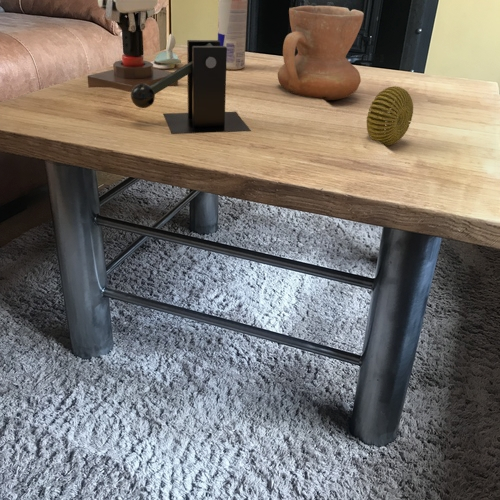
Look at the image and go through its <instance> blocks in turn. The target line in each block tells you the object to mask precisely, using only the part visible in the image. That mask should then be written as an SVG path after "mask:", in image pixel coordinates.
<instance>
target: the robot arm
mask: <svg viewBox="0 0 500 500" xmlns="http://www.w3.org/2000/svg"><path fill="white" fill-rule="evenodd" d="M158 1H159V0H97V5H98V7H99V9H101V10H103V11H105V16H104V17H105V19H106V20H107V21H111V22H115V24H116V25H117V27H118V30H120V31H121V41H122V42H121V43H122V53H123V54H125V55H129V56H134V57H138V56H142V55H143V56H144V54H145V53H144V51H145V50H144V31H145V29H146V22H147V20H148V18H150V17H152V16H154V15H155V12H156V10H155V8H156V7H157V5H158Z"/></svg>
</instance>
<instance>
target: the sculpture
mask: <svg viewBox="0 0 500 500" xmlns="http://www.w3.org/2000/svg"><path fill="white" fill-rule="evenodd" d="M413 116H414V102H413V98H412V96H411V94H410V93H409V92H408V91H407V89H405V88H403V87H400V86H389V87H387V88H384V89H383V90H381V91H380V92H379V93H378V94H377V95H376V96H375V98H374V99H373V100H372V102H371V103H370V106H369V109H368V112H367V116H366V130H367V134H368V136H369V138H370V139H371V140H372V141H375V142H378V143H380V144H381V145H382V146H385V147H387V146H392V145H394V144H396V143H398V142H399V141H401V139H402V138H403V137H404V136H405V135H406V134H407V131H408V130H409V128H410V125H411V122H412V119H413Z"/></svg>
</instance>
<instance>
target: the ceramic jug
mask: <svg viewBox="0 0 500 500" xmlns="http://www.w3.org/2000/svg"><path fill="white" fill-rule="evenodd" d="M288 14H289V23H290V24H289V25H290V28H291V32H290V33H288V34H287V35H286V36H285V38H284V41H283V45H282V57H283V58H282V59H283V64H282V65H281V66H280V68H279V69H278V72H277V81H278V83H279V85H280V86H281V87H282V88H283V89H284V90H286V91H287V92H289V93H290V94H294V95H297V96H300V97H301V96H302V97H305V98H306V97H307V98H314V99H322V100H323V101H337V100H342V99H345V98H347V97H350V96H352V95H353V94H354V93H355V92H356V91H357V90H358V88H359V86H360V85H361V82H362V78H361V74H360V71H359V70H358V68H357V67H356V66H354V65H353V64H352V63H351V62H350V61H349V60H348V58H347V55H348V53H349V51H350V50H351V48H352V46H353V44H354V43H355V41H356V39H357V36H358V33H359V32H360V29H361V27H362V24H363V21H364V15H365V14H364V12H363V11H361V10H357V9H351V10H350V9H349V8H348V7H343V6H342V7H341V6H333V5H332V6H331V5H300V6H296V7H289V10H288ZM296 50H297V53H296Z"/></svg>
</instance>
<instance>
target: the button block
mask: <svg viewBox="0 0 500 500" xmlns="http://www.w3.org/2000/svg"><path fill="white" fill-rule="evenodd" d="M150 62H151V61H147V60H144V66H137V67H130V66H124V65H122V59H121V60H116V61H114V63H112V67H113V69H110V70H106V71H101V72H98V73H92V74H89V75H87V88H88V89H89V88H92V89H93V88H111V89H115V90H120V91H124V92H127V93H128V92H129V93H131V91H132V89H133V88H134V87H135V86H136V85H138V84H147V85H149V86H151V85H153V84H155V83H156V82H158V81H160V80H161V79H163V78H165V77H166V76H168V75H170V74H171V73H173V72H174V71H169V70H165V69H158V68H154V67H153V64H152V63H150ZM177 86H179V80H178V81H176V82H175V83H173V84H171V85H170V86H169V87H177Z"/></svg>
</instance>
